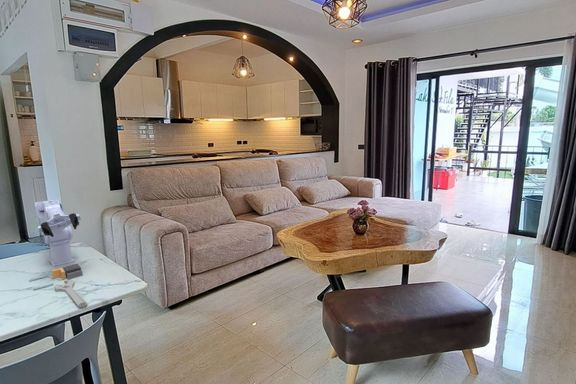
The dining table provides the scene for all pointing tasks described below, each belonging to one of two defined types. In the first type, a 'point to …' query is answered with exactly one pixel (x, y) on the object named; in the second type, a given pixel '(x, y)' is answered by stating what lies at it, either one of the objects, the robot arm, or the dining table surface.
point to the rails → (41, 286)
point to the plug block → (71, 268)
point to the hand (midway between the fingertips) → (63, 230)
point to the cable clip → (74, 274)
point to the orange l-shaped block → (58, 273)
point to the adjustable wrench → (72, 293)
